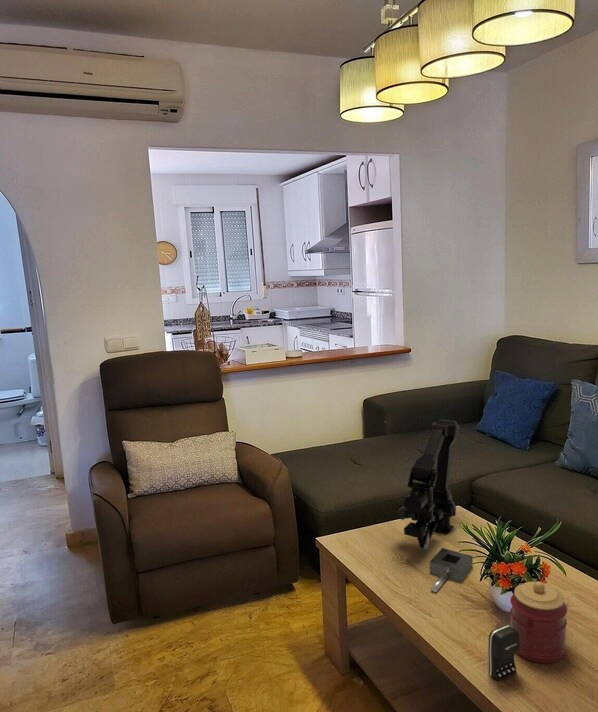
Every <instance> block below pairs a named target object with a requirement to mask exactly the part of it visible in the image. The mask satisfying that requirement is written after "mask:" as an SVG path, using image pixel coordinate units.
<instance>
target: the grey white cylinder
mask: <svg viewBox="0 0 598 712" xmlns="http://www.w3.org/2000/svg"><path fill="white" fill-rule="evenodd" d="M427 530H428V531H429V528H428V527H427ZM418 548H419V550H418V551H419V553H421V554H424V555H426V554H429V553H430V540H429V535H428V538H427V541H426V544H425V546H424V548H421V547H420V545H419V547H418Z"/></svg>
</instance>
